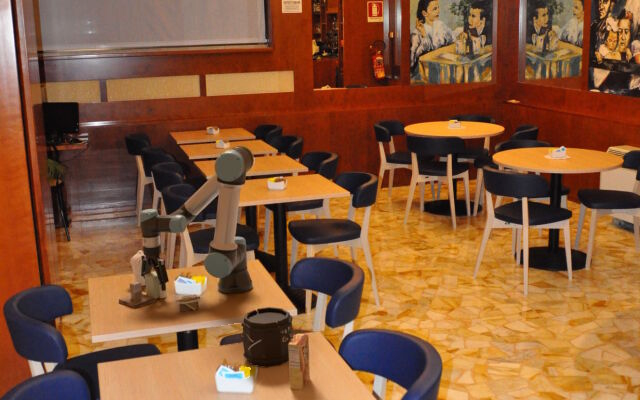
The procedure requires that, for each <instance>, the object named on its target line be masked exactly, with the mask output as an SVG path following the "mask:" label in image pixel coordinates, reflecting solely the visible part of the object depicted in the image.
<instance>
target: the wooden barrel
mask: <svg viewBox="0 0 640 400" xmlns="http://www.w3.org/2000/svg"><path fill="white" fill-rule="evenodd" d="M240 325H241V326H242V334H240V340H242V346H243V357H244V358H246V359H245V360H246V361H247V362H248V363H249V364H250V365H252V366H253V365H258V366H257V367H261V368H271V367H278V366H283V365H284V364H286V363H287V362H288V363H289V349H288V344H289V343H290V342H291V340H292V339H293V338H294V327H293V316H292V315H291V314H290V312H289V311H288V310H287V309H286V310H285V309H284V308H282V307H271V306H267V307H260V308H257V309H252V310H250V311H248V312H247V313H246V314H245V315H244V317H243V319H242V322H241V324H240Z"/></svg>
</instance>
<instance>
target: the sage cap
mask: <svg viewBox="0 0 640 400" xmlns="http://www.w3.org/2000/svg"><path fill="white" fill-rule="evenodd" d="M159 283H160V281H159V279H158V276H157V273H156V271H153V272H152V271H151V273H149V274H146V275H145V284H146V285H145V292H146V294H145V295H147V296H150V297H153V298H155V300H156V299H158V298H160V290H159Z"/></svg>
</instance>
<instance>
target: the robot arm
mask: <svg viewBox="0 0 640 400" xmlns="http://www.w3.org/2000/svg"><path fill="white" fill-rule="evenodd" d="M254 162H255V157H254V154H253V152H252V151H251V150H250V149H249V147H246V146H243V145H237V146H233V147H231V148H230V149H228V150H225V151H222V153H220V154H219V155H218V156H217V158H216V160H215V162H214V166H213V167H214V171H215V172H214V173H213V175H211V176H210V178H209V179H207V181H206V182H205V183H203V185H202V186H201V187H200V188H198V190H196V192H194V194H192V195H191V196H190V197H189V198H188V200H186V201H185V202H184V203H183V204H182V205H181V206H179V208H178V209H177V210H176V211H173V212H172V213H170V214H159V212H158V210H157V209H156V208H155V209H154V208H148V209H143V210H141V211H140V213H139V217H140V218H139V223H140V228H141V230H140V231H141V238H142V245H143V247H142V251H143V254H144V255H143V256H141V258H142V267H141V276H143V277H144V279H145V275H146V274H149V273H152V270H154V272H156V273H157V276H158V279H159V281H160V283H159V290H160V297H159V298H160V299H164V298H166V297H167V286H166V285H167V283H169V281H170V280H169V275H168V272H167V267H166V260H165V259H164V258H163V259H161V257H160V255H161V254H162V246H161V235H160V234H161V233H167V234H168V233H169V234H181V233H182V234H183V233H184V232H185V231H186V230H187V225H188V224H191V223H192V222H193V221H194V219H195V218H196V217H197V216H198V215H199V214H200V213H201V212H202V211H203V210H204V209H206V207H207V206H208V205H209V204H211V202H213V200H215V198H216V197H218V200H217V207H216V208H217V210H216V219H215V227H214V236H213V240H211V241H210V242H209V247H208V248H209V249H208V254H207V255H206V256H205V258H204V262H203V266H204V269H205V271H206V272H207V273H208V274H209V275H210V276H212V277H213V278H216V279H218V283H217V290H218V291H219V292H221V293H222V294H223V293H224V294H239V293H245V292H248V291H250V290H251V289H253V281H252V280H253V279H252V277H251V275H250V273H249V270H248V259H247V258H248V256H247V255H248V253H247V244H246V243H247V242H246V239H245V238H244V237H242V236H236V233H237V222H238V214H239V207H240V206H239V204H240V197H241V188H242V187H243V186H245V185H246V177H247V173H248V172H249V171H250V170H251V169H252V167H253V166H254ZM144 272H145V273H144ZM144 286H146V284H145V285H144Z"/></svg>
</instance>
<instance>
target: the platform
mask: <svg viewBox="0 0 640 400" xmlns="http://www.w3.org/2000/svg"><path fill="white" fill-rule="evenodd" d="M181 298H182V299H176V300H175V301H176V304H178V305H179V312H185V311H186V312H187V311H190V310H193V311H197V309H200V306H199V302H200V301H201V296H198V295H197V294H195V293H194V294H192V295H185V296H182V297H181Z"/></svg>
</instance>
